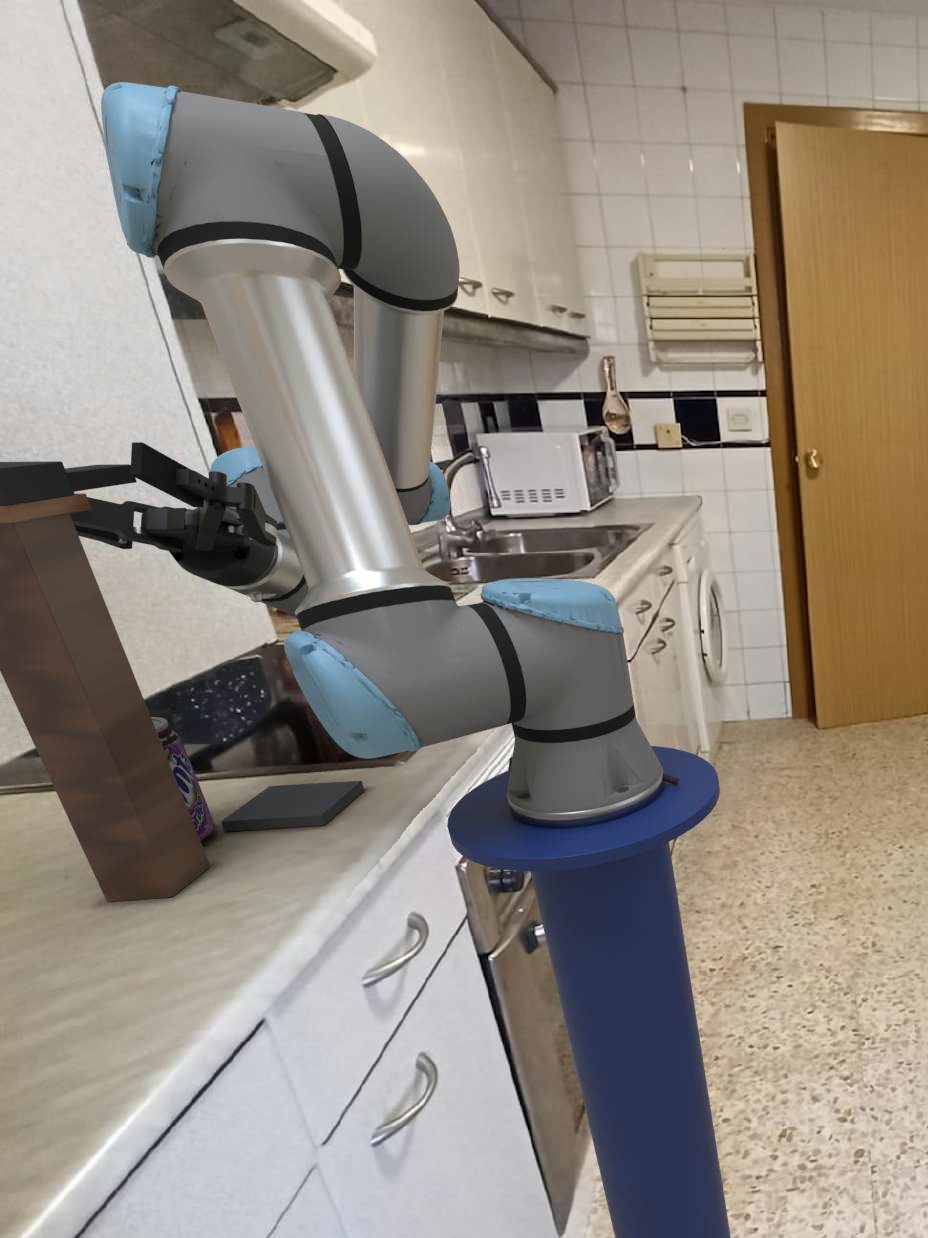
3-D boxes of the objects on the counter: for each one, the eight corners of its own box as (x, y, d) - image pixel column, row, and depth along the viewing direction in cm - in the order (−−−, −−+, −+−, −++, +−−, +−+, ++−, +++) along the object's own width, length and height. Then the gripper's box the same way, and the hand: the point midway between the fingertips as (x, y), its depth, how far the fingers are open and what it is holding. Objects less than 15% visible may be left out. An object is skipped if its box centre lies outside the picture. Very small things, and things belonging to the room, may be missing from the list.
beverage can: (135, 872, 77) (82, 751, 72) (107, 850, 80) (54, 734, 76) (230, 838, 83) (186, 724, 78) (200, 820, 86) (157, 709, 81)
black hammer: (159, 482, 74) (149, 451, 73) (7, 505, 60) (-9, 468, 59) (81, 482, 73) (69, 452, 72) (-93, 507, 59) (-110, 469, 58)
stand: (227, 858, 79) (86, 493, 67) (174, 900, 73) (7, 505, 60) (155, 863, 78) (-3, 494, 66) (95, 906, 72) (-93, 507, 59)
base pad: (364, 790, 92) (361, 780, 92) (324, 825, 85) (321, 814, 85) (273, 795, 91) (269, 785, 91) (224, 832, 84) (220, 821, 83)
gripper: (368, 584, 89) (215, 502, 68) (99, 592, 85) (-151, 508, 64) (369, 515, 89) (218, 413, 68) (103, 520, 86) (-142, 414, 65)
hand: (40, 459), depth 66 cm, fingers open, 12 cm apart
